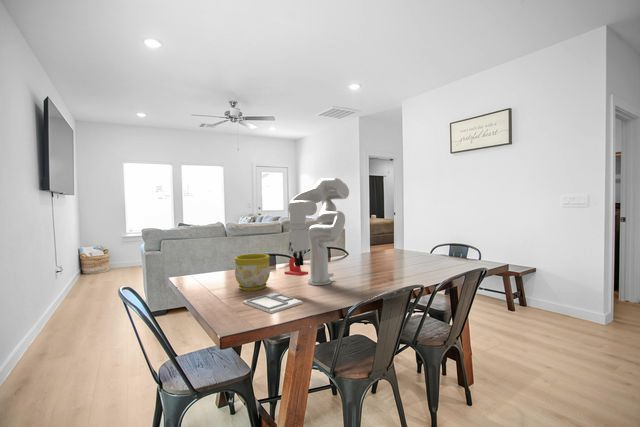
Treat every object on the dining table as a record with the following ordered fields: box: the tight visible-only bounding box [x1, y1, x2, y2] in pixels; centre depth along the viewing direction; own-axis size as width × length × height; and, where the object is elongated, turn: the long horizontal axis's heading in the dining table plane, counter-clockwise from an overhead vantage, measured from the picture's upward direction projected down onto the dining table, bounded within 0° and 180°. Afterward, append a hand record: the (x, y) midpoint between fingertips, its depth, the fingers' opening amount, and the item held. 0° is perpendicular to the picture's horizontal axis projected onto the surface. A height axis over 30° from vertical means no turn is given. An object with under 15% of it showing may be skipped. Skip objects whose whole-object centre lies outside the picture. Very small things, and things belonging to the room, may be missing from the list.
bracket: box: [284, 256, 309, 277], centre depth 159 cm, size 12×4×8 cm, turn 46°
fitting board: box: [242, 292, 303, 314], centre depth 146 cm, size 17×20×2 cm
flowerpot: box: [233, 253, 271, 292], centre depth 173 cm, size 18×18×16 cm
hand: (299, 265), depth 160 cm, fingers closed on bracket, 1 cm apart
